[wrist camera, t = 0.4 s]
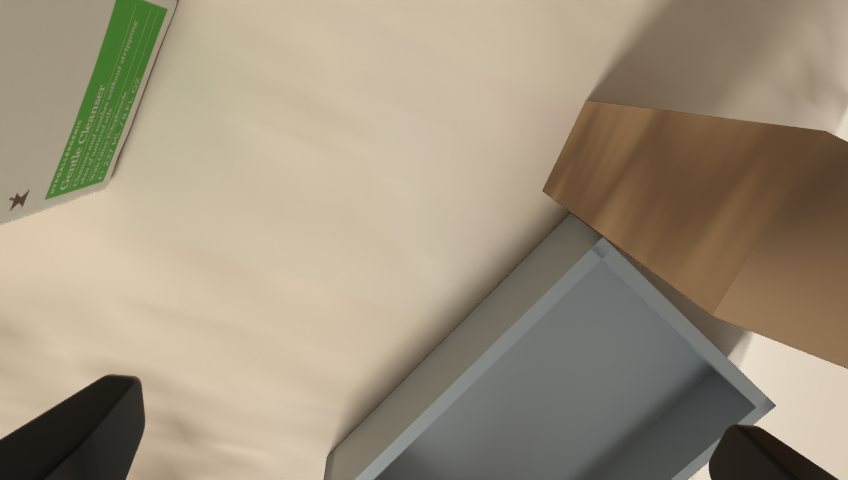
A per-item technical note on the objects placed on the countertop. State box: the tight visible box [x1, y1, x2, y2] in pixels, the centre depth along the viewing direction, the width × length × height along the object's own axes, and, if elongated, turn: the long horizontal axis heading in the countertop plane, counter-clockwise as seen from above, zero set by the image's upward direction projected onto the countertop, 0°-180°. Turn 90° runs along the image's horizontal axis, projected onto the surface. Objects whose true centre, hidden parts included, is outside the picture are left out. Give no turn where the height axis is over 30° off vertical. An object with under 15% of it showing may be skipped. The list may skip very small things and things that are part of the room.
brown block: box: [543, 100, 848, 369], centre depth 16 cm, size 4×4×12 cm
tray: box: [324, 213, 776, 480], centre depth 24 cm, size 16×11×4 cm
